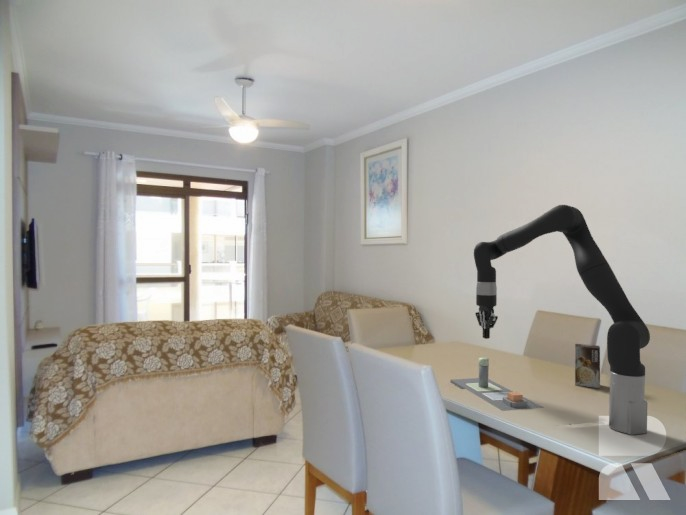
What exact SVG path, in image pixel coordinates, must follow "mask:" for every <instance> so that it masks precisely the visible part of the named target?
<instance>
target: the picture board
mask: <svg viewBox="0 0 686 515" xmlns="http://www.w3.org/2000/svg"><path fill="white" fill-rule="evenodd" d="M450 383H452V384H453V385H454V384H455V385H454V386H456V387H458V388H459V389H461V390H467V391H468V392H470V393H471V394H473V395H475V396H477V397H479V398H480V399H482V400H483V401H485V402H487V403H489V404H490V405H492V406H493V407H494V408H495V407H496V408H497V409H499V410H500V411H502V412H504V411H515V410H516V411H517V410H528V409H529V410H530V409H531V410H532V409H542V408H545V407H544V406H542V405H540V404H538V403H537V402H535V401H533V400H531V399H529V398H527V397H524V396H523V401H520V402H512V401H510V400H508V399H507V392H514V391H513V390H511V389H509V388H507V387H505V386H504V385H501V384H499V383H497V382H495V381H494V380H491V379H489V378H488V388H481V387H479V377H475V378H473V377H472V378H457V379H450Z"/></svg>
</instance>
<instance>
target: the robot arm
mask: <svg viewBox="0 0 686 515" xmlns="http://www.w3.org/2000/svg"><path fill="white" fill-rule="evenodd" d="M556 232H560V233H561V234H563V236H564V237H565V239H566V240H567V241H568V243H569V244H570V246H571V247H570V248H572V251H573V255H574V262H575V267H576V270H577V273H578V275H579V277H580V278H581V281H582V282H583V284H584V286H585V287H586V289H587V291H588V292H589V293H590V294H591V295H592V297H593V298H595V299H596V300H597V301H598V302H599V303H600V304H601V306H603V307H604V309H605V310H606V312H608V314H609V316H610V317H611V320H612V322H613V324H611V325H610V327H609V328H608V330H607V333H606V350H607V362H608V364H609V365H608V366H609V400H608V401H609V403H608V404H609V409H608V410H609V411H608V426H609V428H611V429H612V430H614V431H616V432H620V433H624V434H628V435H630V436H632V435H640V434H647V433H648V403H649V402H647V401H646V400H645V399H646V397H645V396H646V395H645V394H646V389H645V388H646V366H645V365H644V364H643V363H642V361H641V349H644V348H645V347H647V345H649V343H650V340H651V334H650V333H651V332H650V331H649V330H650V329H649V328H648V326H647V325H646V323H645V322H644V320H643V319H642V318H641V316H640V315H639V314H638V312H637V311H636V310H635V308H634V306H633V305H632V303H631V302H630V301H629V299H628V297H627V295H626V293H625V290H623V287H622V286H621V284H620V282H619V280H618V279H617V277H616V275H615V273H614V271H613V269H612V267H611V266H610V264H609V262H608V260H607V258H606V257H605V255H604V253H603V252H602V250H601V249H600V247H599V246H598V244H597V242H596V241H595V239H594V237H593V236H592V234H591V233H592V232H591V230H590V229H589V226H588V223H587V221H586V219H585V217H584V214H583V213H582V212H581V211H580V210H579V209H578V208H577V207H574V206H572V205H571V206H570V205H568V204H558V205H555V206H554V207H552V208H551V209H549V210H547V211H546V212H545V213H543V214H542V215H539V216H538V217H537V218H535V219H533V220H531V221H530V222H527V223H525V224H523V225H522V226H519V227H517V228H515V229H512V230H510V231H507V232H505V233H503V234H501V235H499V236H498V237H497V238H496V239H495V240H493V241H480V242H478V243H476V244H475V247H474V248H473V258H474V264H475V268H476V272H477V273H476V278H477V281H476V289H475V290H476V292H475V294H476V298H475V300H476V301H475V302H476V306H478V311H477V312H475V317H476V319H477V322H478V325H479V327H481V329H482V338H483V339H485V340H487V339H490V337H491V336H490V334H491V329H493V328H494V327H495V325H496V323H497V321H498V318H499V317H498V315H495V309H494V307H496V306H497V300H498V299H497V298H498V297H497V295H498V294H497V290H498V286H497V270H496V268H495V267H494V266H493V265H492V261H494V260H497V259H498V258H500V257H501V258H502V256H504V255H506V254H508V253H510V252H513V251H515V250H518V249H520V248H523V247H525V246H526V245H528V244H529V243H531V242H533V240H534V241H535V239H537V238H539V237H542V236H544V235H547V234H551V233H556Z"/></svg>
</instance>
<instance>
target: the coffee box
mask: <svg viewBox="0 0 686 515" xmlns="http://www.w3.org/2000/svg"><path fill="white" fill-rule="evenodd" d="M574 354H575V355H574V386H577V385H578V387H585V386H586V387H589V388H596V389H601V346H600V345H593V344H584V343H575V345H574Z"/></svg>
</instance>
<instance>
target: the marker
mask: <svg viewBox="0 0 686 515" xmlns="http://www.w3.org/2000/svg"><path fill="white" fill-rule="evenodd" d="M489 364H490V358H488V357H478V378H479V387H481V388H488V379H489Z"/></svg>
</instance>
